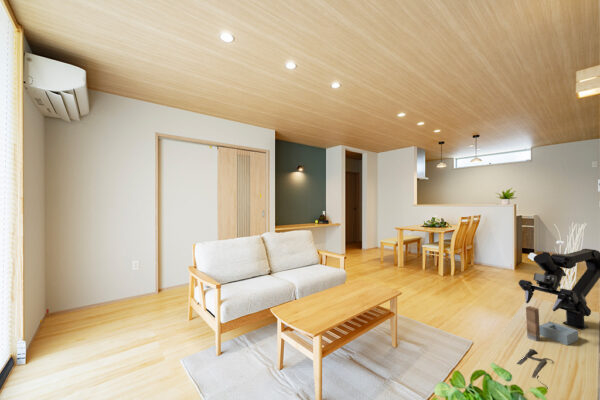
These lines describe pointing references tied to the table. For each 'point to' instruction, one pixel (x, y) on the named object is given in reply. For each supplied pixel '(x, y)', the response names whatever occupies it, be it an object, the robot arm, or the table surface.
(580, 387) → the table surface
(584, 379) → the table surface
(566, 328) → the holder
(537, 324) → the tan rectangular block
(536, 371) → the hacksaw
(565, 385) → the table surface
